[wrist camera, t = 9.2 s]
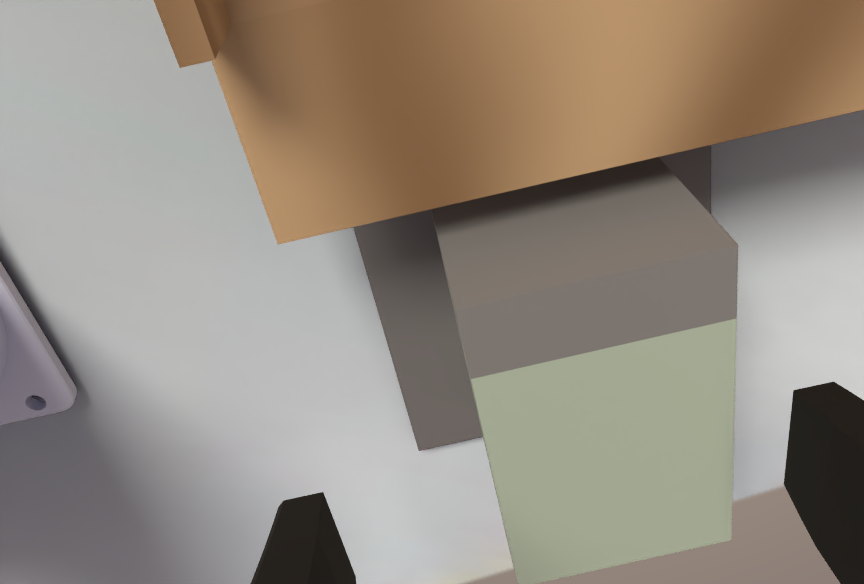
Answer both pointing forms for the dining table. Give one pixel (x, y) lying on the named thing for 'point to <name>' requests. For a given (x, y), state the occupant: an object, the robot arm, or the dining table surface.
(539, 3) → the wooden tray
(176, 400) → the dining table surface
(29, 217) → the dining table surface
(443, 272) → the mat
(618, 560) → the capped block
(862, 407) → the robot arm
